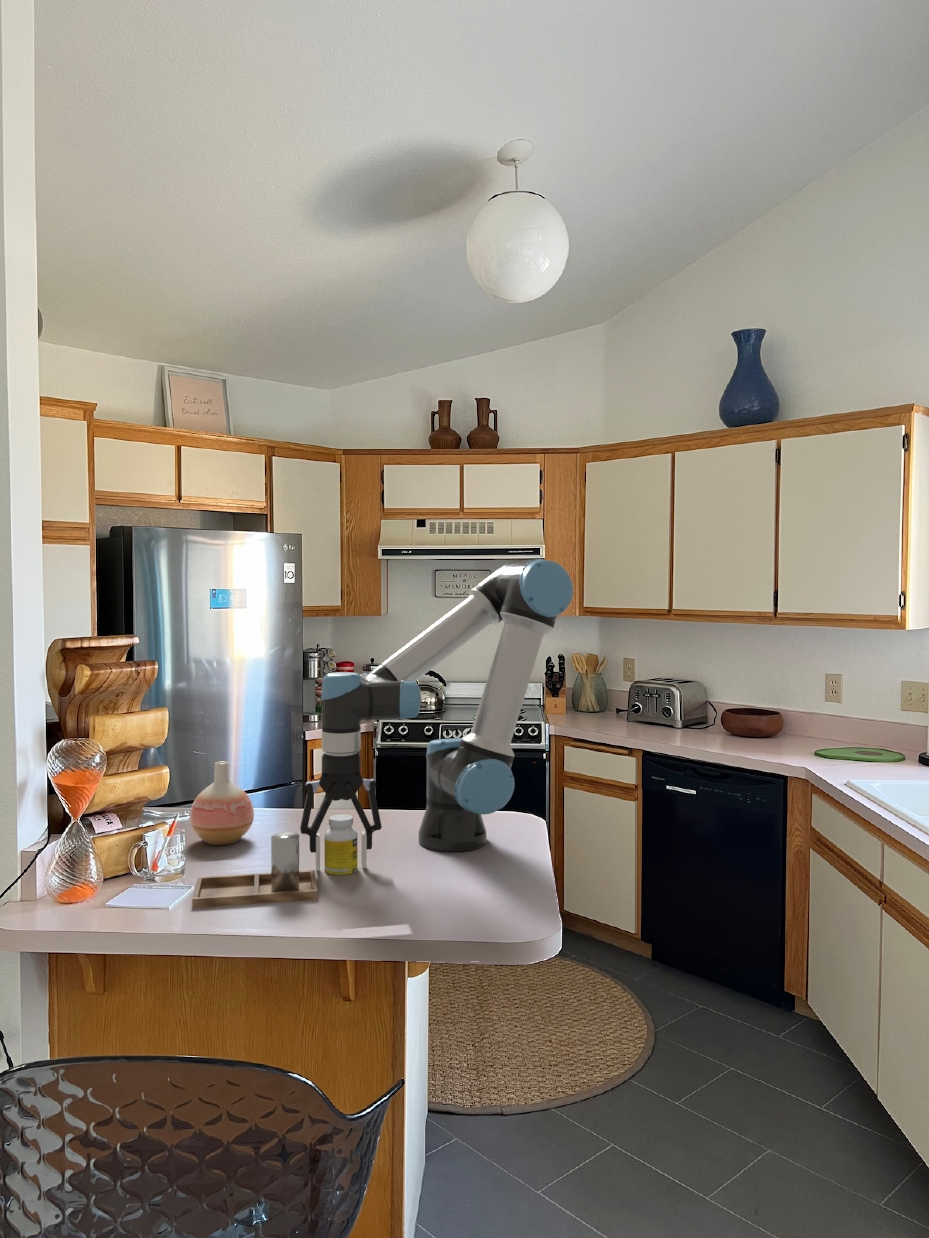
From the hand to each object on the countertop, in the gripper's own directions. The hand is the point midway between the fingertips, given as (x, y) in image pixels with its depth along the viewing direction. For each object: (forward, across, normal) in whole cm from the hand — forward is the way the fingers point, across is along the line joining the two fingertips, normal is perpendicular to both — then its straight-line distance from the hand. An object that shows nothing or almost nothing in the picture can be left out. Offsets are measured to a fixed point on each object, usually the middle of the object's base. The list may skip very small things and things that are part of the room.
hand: (340, 866), depth 174 cm
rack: (+2, +16, +10) cm, 19 cm away
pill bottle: (+2, 0, 0) cm, 2 cm away
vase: (+2, +24, -28) cm, 37 cm away
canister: (+1, +11, +10) cm, 14 cm away
